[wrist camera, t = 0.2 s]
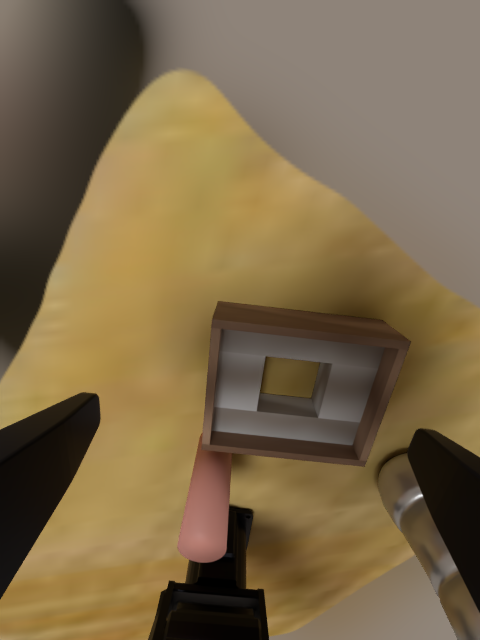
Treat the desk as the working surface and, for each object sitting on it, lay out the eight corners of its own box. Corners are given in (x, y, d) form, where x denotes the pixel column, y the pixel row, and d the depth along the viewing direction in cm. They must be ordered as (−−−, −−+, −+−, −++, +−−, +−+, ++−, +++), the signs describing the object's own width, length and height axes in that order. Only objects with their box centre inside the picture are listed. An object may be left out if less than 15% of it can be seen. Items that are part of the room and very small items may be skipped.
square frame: (347, 429, 25) (364, 466, 22) (207, 415, 25) (201, 449, 21) (382, 320, 21) (411, 341, 18) (218, 301, 21) (212, 319, 17)
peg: (231, 455, 27) (224, 564, 18) (198, 452, 27) (176, 560, 18) (234, 429, 26) (228, 533, 17) (200, 426, 26) (178, 528, 17)
